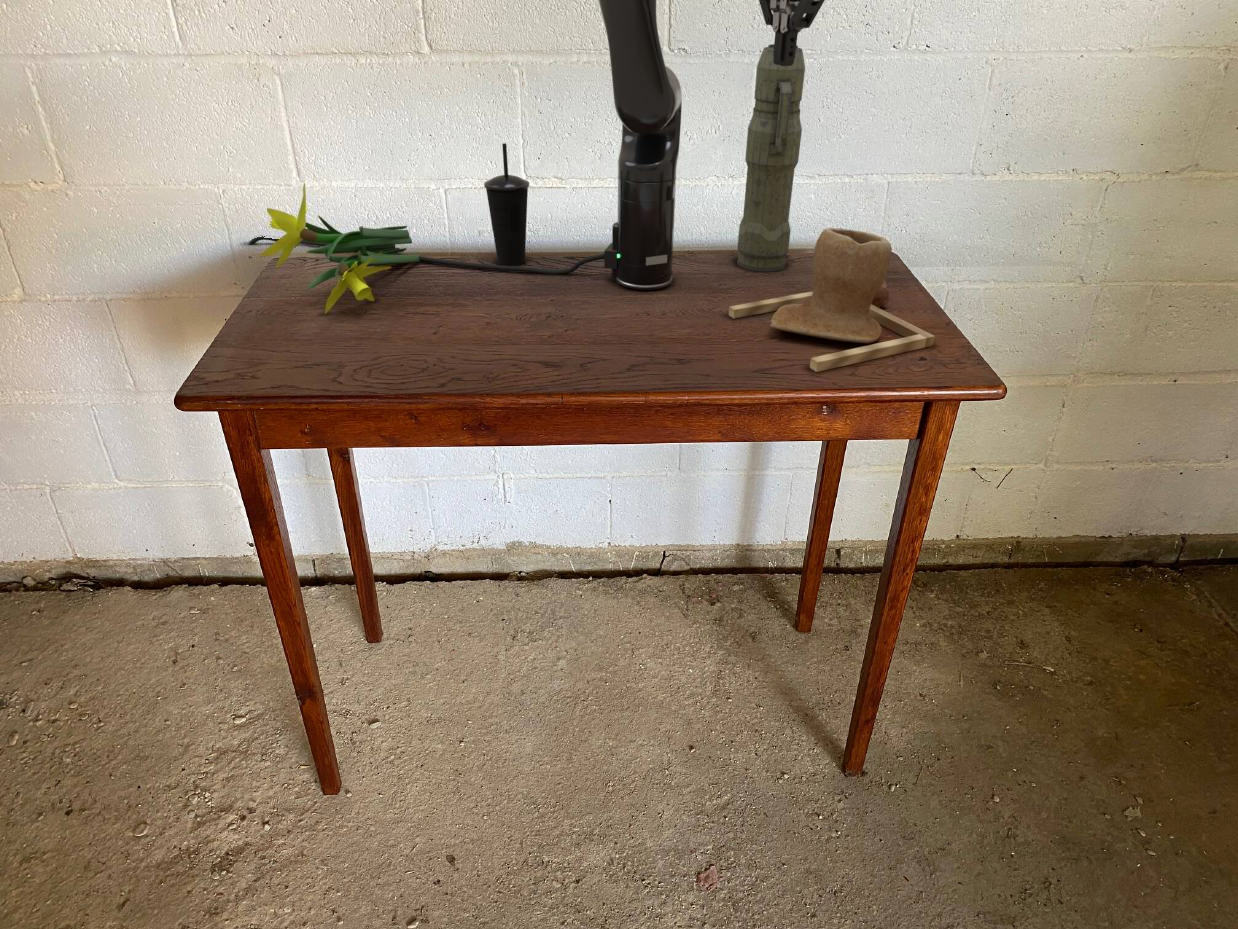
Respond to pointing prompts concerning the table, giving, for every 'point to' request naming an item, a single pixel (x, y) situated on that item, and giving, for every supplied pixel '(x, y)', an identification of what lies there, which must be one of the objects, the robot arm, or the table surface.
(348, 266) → the daffodil flowers
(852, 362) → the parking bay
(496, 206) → the drinking cup
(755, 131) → the thermos
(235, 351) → the table surface
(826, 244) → the stone cup
